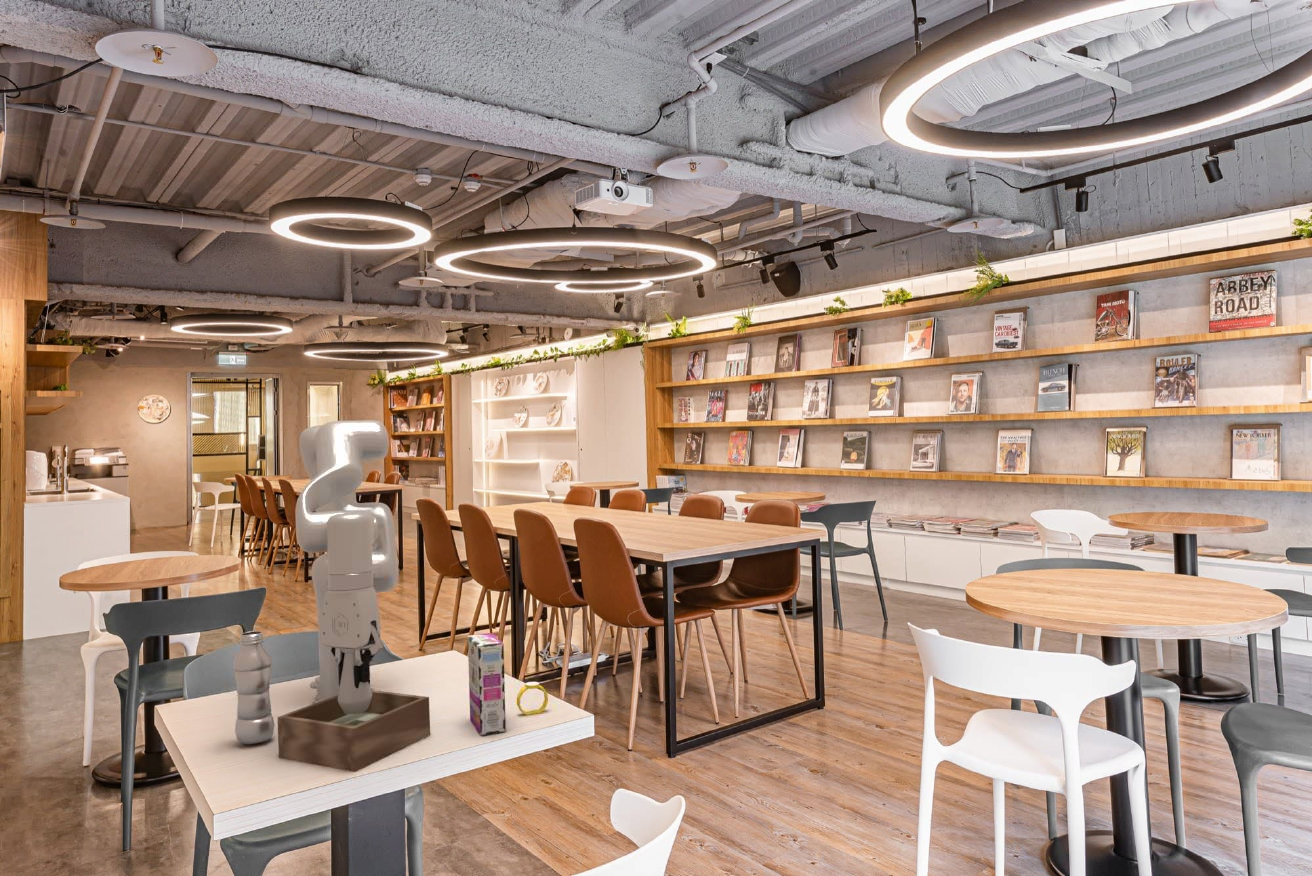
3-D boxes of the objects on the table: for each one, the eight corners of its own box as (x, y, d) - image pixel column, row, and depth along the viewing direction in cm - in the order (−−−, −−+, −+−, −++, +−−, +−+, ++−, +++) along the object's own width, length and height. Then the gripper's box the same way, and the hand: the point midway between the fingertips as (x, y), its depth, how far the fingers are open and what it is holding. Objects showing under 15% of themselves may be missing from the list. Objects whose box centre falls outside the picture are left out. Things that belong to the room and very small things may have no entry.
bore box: (278, 757, 143) (277, 717, 143) (357, 724, 159) (356, 688, 159) (355, 771, 135) (354, 728, 135) (430, 735, 151) (428, 697, 151)
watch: (544, 710, 164) (545, 680, 165) (548, 714, 162) (549, 683, 162) (515, 713, 162) (516, 682, 162) (518, 717, 159) (519, 686, 160)
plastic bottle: (249, 751, 147) (245, 638, 147) (227, 745, 150) (224, 635, 151) (282, 739, 152) (278, 631, 153) (260, 734, 156) (257, 628, 156)
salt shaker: (360, 716, 144) (358, 641, 144) (331, 715, 145) (328, 641, 145) (378, 706, 149) (376, 634, 150) (350, 705, 151) (347, 634, 151)
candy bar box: (508, 732, 151) (504, 642, 152) (480, 737, 149) (477, 646, 150) (494, 715, 162) (491, 631, 162) (469, 719, 160) (466, 634, 160)
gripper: (301, 584, 148) (304, 687, 147) (369, 587, 141) (373, 695, 140) (334, 578, 155) (337, 676, 154) (400, 580, 147) (404, 683, 147)
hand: (354, 684), depth 147 cm, fingers closed on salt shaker, 3 cm apart
